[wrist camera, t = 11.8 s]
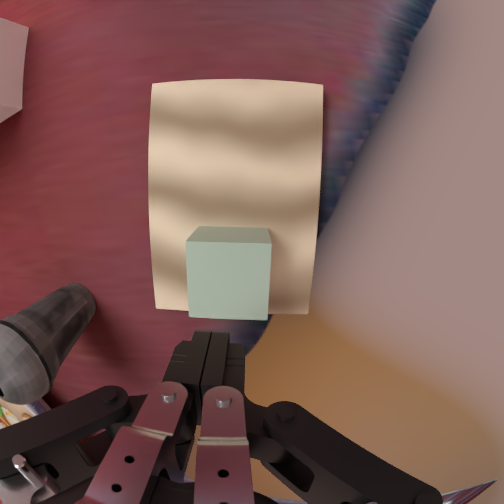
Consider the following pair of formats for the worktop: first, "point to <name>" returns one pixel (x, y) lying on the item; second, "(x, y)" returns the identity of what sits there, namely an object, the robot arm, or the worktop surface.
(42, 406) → the ramen bowl
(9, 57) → the milk
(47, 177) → the worktop surface
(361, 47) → the worktop surface
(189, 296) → the grey-green block
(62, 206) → the worktop surface
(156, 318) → the worktop surface
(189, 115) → the post board
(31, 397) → the beverage cup
